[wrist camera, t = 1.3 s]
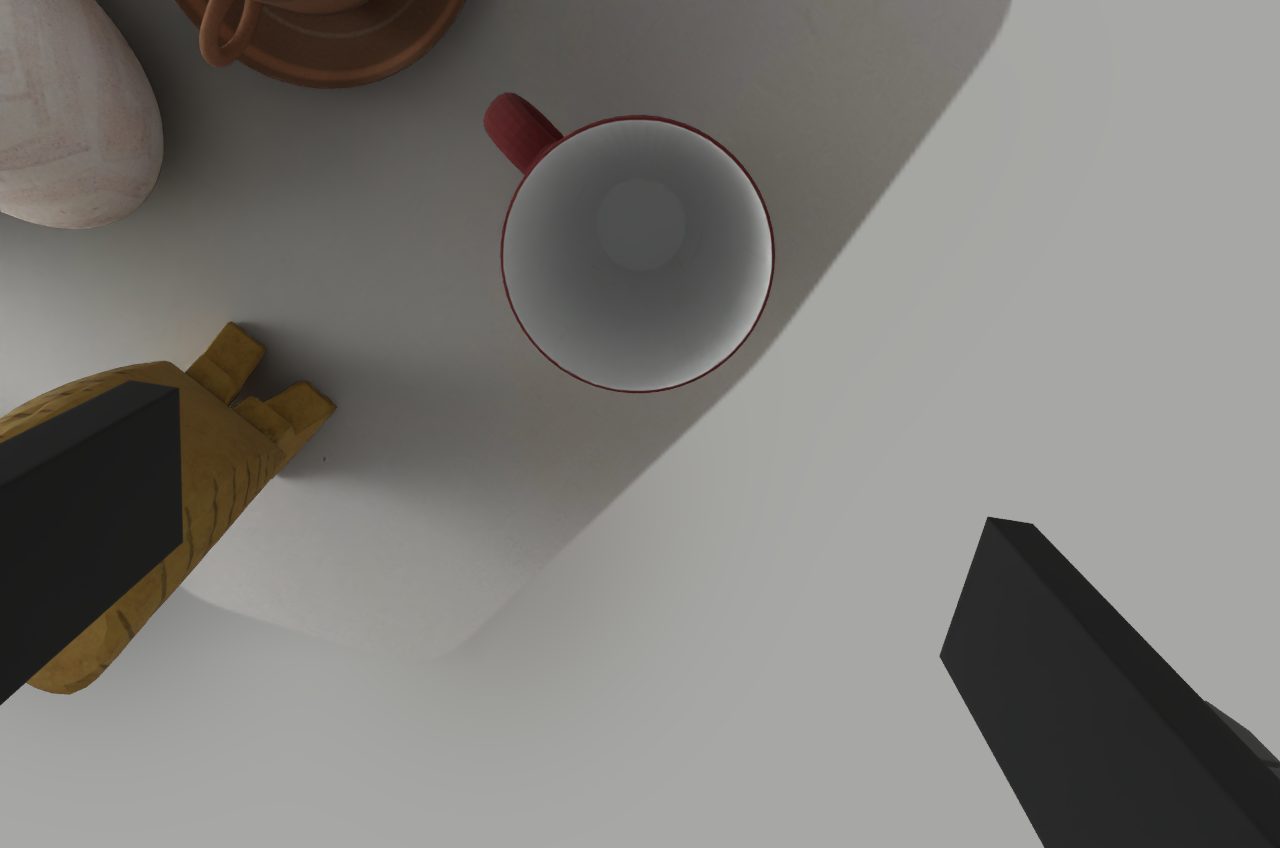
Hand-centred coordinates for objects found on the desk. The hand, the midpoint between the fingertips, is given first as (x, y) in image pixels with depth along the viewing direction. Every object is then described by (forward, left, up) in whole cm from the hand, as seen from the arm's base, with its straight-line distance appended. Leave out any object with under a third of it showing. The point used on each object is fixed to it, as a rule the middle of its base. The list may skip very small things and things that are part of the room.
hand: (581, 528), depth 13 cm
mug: (0, -3, -22) cm, 22 cm away
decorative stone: (+23, -7, -22) cm, 32 cm away
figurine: (+15, +6, -22) cm, 28 cm away
